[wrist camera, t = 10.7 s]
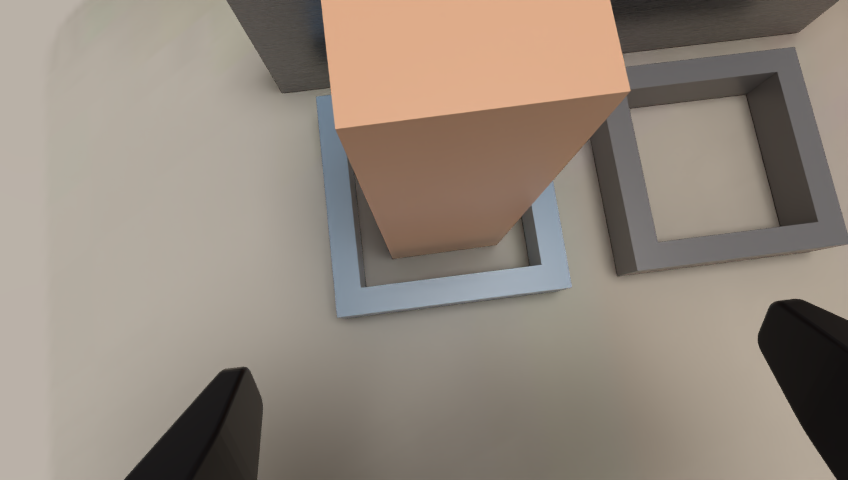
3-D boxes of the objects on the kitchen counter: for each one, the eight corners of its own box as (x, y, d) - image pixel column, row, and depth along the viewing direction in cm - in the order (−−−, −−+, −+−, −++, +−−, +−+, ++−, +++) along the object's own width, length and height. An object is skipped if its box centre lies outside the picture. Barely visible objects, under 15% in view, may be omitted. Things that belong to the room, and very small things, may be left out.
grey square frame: (810, 251, 21) (850, 243, 19) (617, 276, 21) (637, 270, 19) (762, 71, 23) (794, 46, 21) (581, 93, 23) (596, 70, 21)
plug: (496, 244, 21) (630, 90, 8) (392, 258, 21) (335, 129, 7) (477, 129, 22) (565, -197, 8) (377, 142, 22) (302, -167, 8)
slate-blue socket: (558, 291, 21) (571, 287, 19) (345, 318, 21) (337, 317, 19) (523, 93, 23) (533, 71, 21) (325, 117, 22) (316, 96, 20)
